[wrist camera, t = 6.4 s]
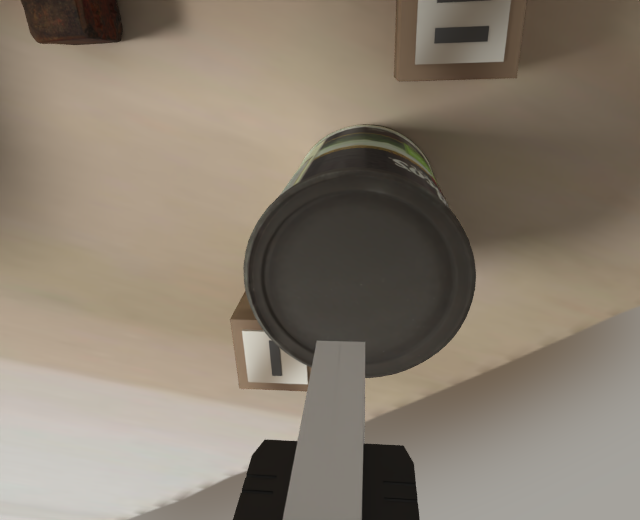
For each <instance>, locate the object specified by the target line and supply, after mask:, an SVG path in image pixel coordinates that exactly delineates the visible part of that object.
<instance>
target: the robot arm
mask: <svg viewBox="0 0 640 520" xmlns="http://www.w3.org/2000/svg"><path fill="white" fill-rule="evenodd" d="M364 432H365V342H347V341H317V342H316V348H315V353H314V358H313V363H312V369H311V374H310V379H309V384H308V390H307V395H306V400H305V405H304V410H303V416H302V421H301V426H300V431H299V437H298V441H282V440H264V441H263V443H262V444H261V445H260V446H259V447H258V449H257V450H256V451H255V452H254V454H253V455H252V458H251V461H250V464H249V468H248V471H247V477H246V478H245V481H244V485H243V488H242V493H241V495H240V498H239V502H238V505H237V508H236V511H235V515H234V518H233V520H419V510H418V503H417V491H416V482H415V471H414V464H413V461H412V460H411V458H410V456H409V454H408V453H407V451H406V449H405V448H404V446H400V445H380V444H364Z"/></svg>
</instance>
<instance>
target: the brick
mask: <svg viewBox="0 0 640 520" xmlns="http://www.w3.org/2000/svg"><path fill="white" fill-rule="evenodd" d="M21 2H22V5H23V7H24V10H25V14H26V18H27V22H28V25H29V29H30V33H31V35H32V36H33V38H34V39H35V40H36V41H37V42H38V43H42V44H66V45H83V44H100V43H112V42H119V41H120V40H121V35H122V24H121V22H120V21H121V18H120V14H119V9H118V6H117V1H116V0H21Z"/></svg>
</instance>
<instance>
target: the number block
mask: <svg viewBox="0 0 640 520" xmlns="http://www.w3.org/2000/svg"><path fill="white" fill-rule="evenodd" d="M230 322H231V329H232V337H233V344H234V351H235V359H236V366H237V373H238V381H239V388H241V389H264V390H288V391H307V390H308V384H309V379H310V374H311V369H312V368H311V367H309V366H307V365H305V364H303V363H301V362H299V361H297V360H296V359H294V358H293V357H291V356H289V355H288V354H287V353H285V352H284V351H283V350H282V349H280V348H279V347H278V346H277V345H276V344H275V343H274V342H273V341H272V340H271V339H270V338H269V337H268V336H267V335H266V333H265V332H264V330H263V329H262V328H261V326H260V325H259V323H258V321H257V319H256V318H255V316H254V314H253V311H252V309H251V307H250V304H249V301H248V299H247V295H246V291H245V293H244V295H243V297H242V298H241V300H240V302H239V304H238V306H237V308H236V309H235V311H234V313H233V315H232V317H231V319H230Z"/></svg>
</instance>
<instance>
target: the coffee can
mask: <svg viewBox="0 0 640 520" xmlns="http://www.w3.org/2000/svg"><path fill="white" fill-rule="evenodd" d="M475 281H476V270H475V262H474V256H473V252H472V249H471V246H470V243H469V240H468V238H467V236H466V234H465V232H464V230H463V228H462V226H461V224H460V223H459V221H458V219H457V218H456V216H455V215H454V214H453V213H452V211H451V210H450V209H449V206H448V204H447V202H446V200H445V198H444V196H443V194H442V192H441V190H440V188H439V186H438V184H437V182H436V180H435V178H434V176H433V172H432V169H431V167H430V164H429V162H428V160H427V159H426V157H425V156H424V154H423V153H422V152H421V150H420V149H419V148H418V147H417V146H416V145H415V144H414V143H413V142H412V141H410V140H409V139H408V138H406V137H405V136H403V135H401V134H400V133H398V132H396V131H393V130H391V129H388V128H385V127H381V126H375V125H357V126H351V127H346V128H343V129H340V130H338V131H336V132H333V133H331V134H330V135H328V136H326V137H324V138H323V139H322V140H320V141H319V142H318V143H317V144H316V145H315V146H314V147H313V148H312V149H311V150H310V152H309V153H308V154H307V156H306V157H305V159H304V160H303V162H302V164H301V166H300V167H299V169H298V170H297V172H296V173H295V174H294V176H293V177H292V179H291V180H290V182H289V183H288V184H287V186H286V187H285V189H284V190H283V192H282V193H281V194H280V196H279V197H278V198H277V199H276V200H275V201H274V202H273V203H272V204H271V205H270V206H269V207H268V208H267V210H266V211H265V212H264V214H263V215H262V216H261V218H260V219H259V221H258V222H257V224H256V226H255V228H254V230H253V232H252V234H251V236H250V239H249V241H248V245H247V249H246V253H245V260H244V284H245V291H246V295H247V299H248V301H249V304H250V307H251V309H252V311H253V314H254V316H255V318H256V319H257V321H258V323H259V325H260V326H261V328H262V329H263V330H264V332H265V333H266V335H267V336H268V337H269V338H270V339H271V340H272V341H273V342H274V343H275V344H276V345H277V346H278V347H279V348H280V349H282V350H283V351H284V352H285V353H287V354H288V355H289V356H291V357H293V358H294V359H296V360H297V361H299V362H301V363H303V364H305V365H307V366H309V367H311V368H312V363H313V358H314V353H315V348H316V342H317V341H347V342H365V378H373V377H381V376H387V375H392V374H396V373H399V372H402V371H405V370H407V369H410V368H412V367H414V366H416V365H418V364H420V363H422V362H424V361H426V360H427V359H429V358H430V357H432V356H433V355H435V354H436V353H438V352H439V351H440V350H441V349H442V348H443V347H445V346H446V345H447V344H448V343H449V342H450V340H451V339H452V338H453V337H454V336H455V335H456V333H457V332H458V330H459V329H460V328H461V325H462V324H463V322H464V320H465V318H466V316H467V314H468V311H469V309H470V306H471V303H472V299H473V296H474V290H475Z"/></svg>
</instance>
